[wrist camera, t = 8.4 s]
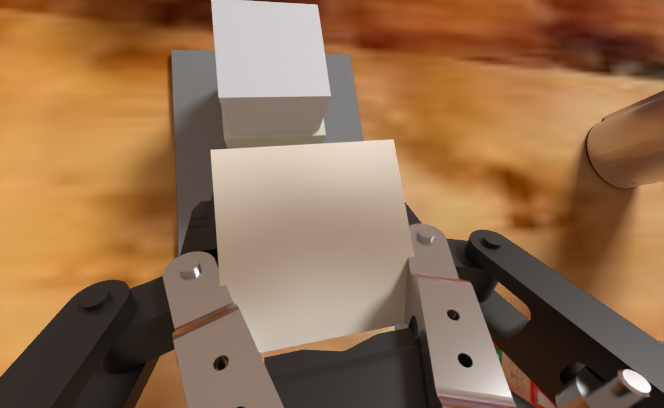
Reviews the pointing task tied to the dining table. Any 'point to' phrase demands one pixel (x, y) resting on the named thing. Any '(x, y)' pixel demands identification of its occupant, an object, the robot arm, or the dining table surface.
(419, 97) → the dining table surface
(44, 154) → the dining table surface
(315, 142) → the sage tower base
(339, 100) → the slate mat
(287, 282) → the cream block
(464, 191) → the dining table surface
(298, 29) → the white square block
